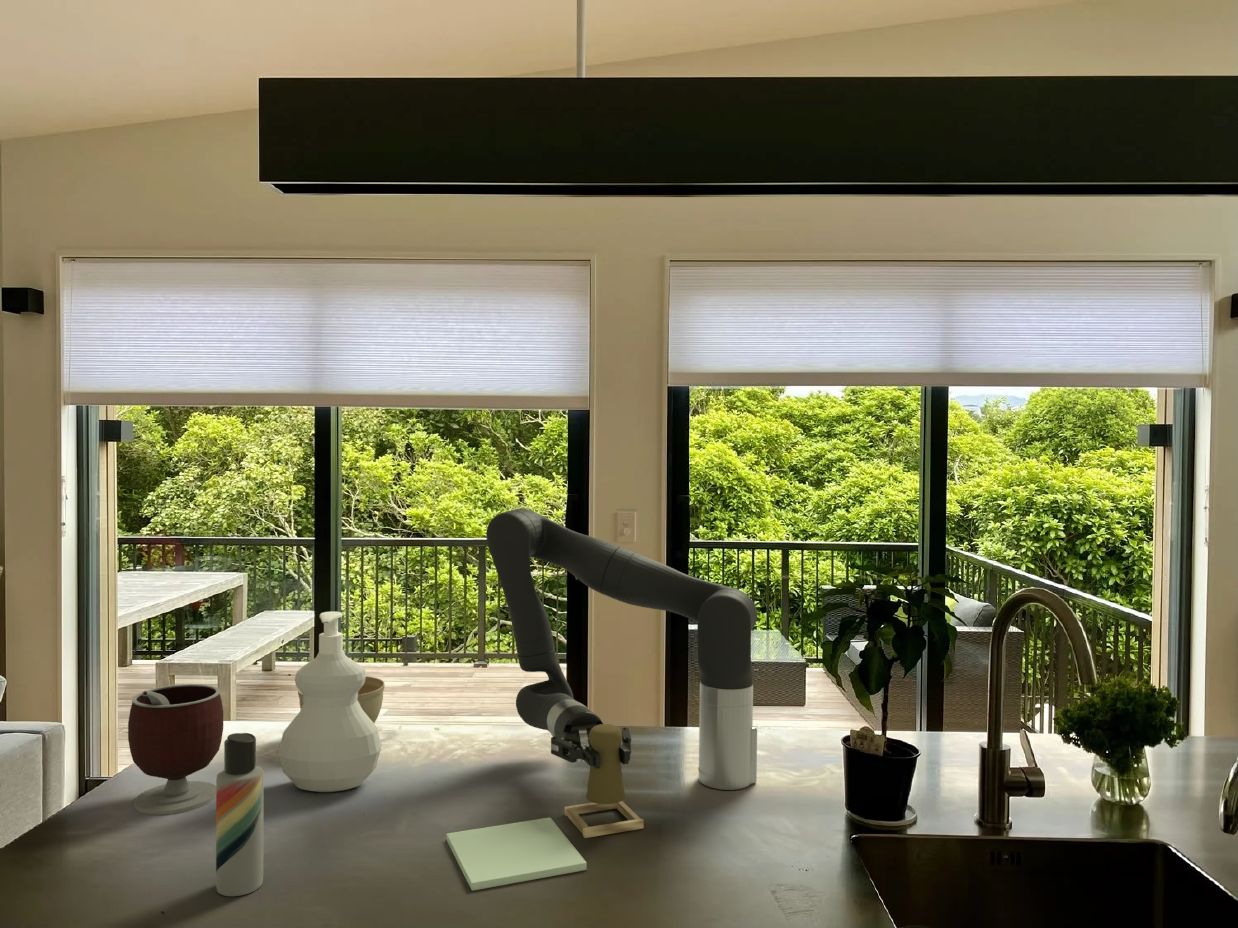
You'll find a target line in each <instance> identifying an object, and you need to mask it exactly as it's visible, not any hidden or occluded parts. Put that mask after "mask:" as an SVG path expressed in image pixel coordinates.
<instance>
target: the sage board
mask: <svg viewBox="0 0 1238 928" xmlns="http://www.w3.org/2000/svg"><path fill="white" fill-rule="evenodd" d="M446 842H447V844H448V847H449V848H450V850H451V853H452V854H453V856H454V858H455V860H456V862H457V864H458V866H459V869H460V870H461V872H462V874H463V875H464V878H465V880H466V882H467V884H468V886H469V888H470V890H471V891H477V890H482V889H484V890H485V889H489V888H490V889H491V888H493V887H494V888H495V887H500V886H506V885H510V884H516V883H522V882H528V881H532V880H537V879H539V880H540V879H543V878H548V877H554V876H561V875H565V874H571V873H577V872H583V871H587V870H588V869H587V868H588V867H587V864H588V862H587V861H586V860H585V858H584V857H583V856H582V855H581V853H579V851H578V849H576V847H574V845H573V844H572V842H570V840H569V838H568V837H567V836H566V835H565V834H564V833H563V831H562V830H561V829H560V828H559V826H558V825H557V824H556V822H555V821H554V820H553V819H552V818H551V817H544V818H537V819H532V820H524V821H519V822H512V823H506V824H505V823H504V824H500V825H499V824H498V825H491V826H486V827H480V828H473V829H467V830H462V831H454V832H449V833H448V832H447V833H446Z"/></svg>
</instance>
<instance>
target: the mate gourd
mask: <svg viewBox="0 0 1238 928" xmlns="http://www.w3.org/2000/svg"><path fill="white" fill-rule="evenodd" d="M131 702H132V703H131V706H130V710H129V716H128V720H127V721H128V723H127V740H128V745H129V751H130V755H131V758H132V761H133V763H134V764H135V766H137V768H138V769H140V771H141V772H142V773H143V774H145V775H147V776H149V777H155V778H161V779H164V780H166V783H165V784H161V785H158V786H155V787H152V788H149V789H147V790H144V791H143V792H141V793H140V794H138V795H137V796H136V797H135V798H134V800H133V807H134V810H136V811H137V812H139V813H141V814H145V815H146V814H147V815H153V816H154V815H157V816H158V815H159V816H160V815H172V814H173V815H174V814H179V813H184V812H189V811H193V810H197V809H200V808H202V807H204V806H207V805H208V804H211V803H212V802H214V801H215V799H216V784H214V783H211V782H207V781H200V780H189V781H188V779H187V777H188V776H190V775H192V774H194V773H198V772H199V771H201V770H203V769H205V768H206V767H208V766H209V765H210V763H211V762H212V761H213V759H214V758H215V756H216V755H217V754H218V752H219V751H220V748H221V743H222V740H223V735H224V734H223V732H224V708H223V701H222V697H221V689H220V688H219V687H217V686H215V685H210V684H199V683H195V684H194V683H187V684H186V683H185V684H172V685H167V686H160V687H156V688H151V689H147V690H144V691H141V692H139V693H137V694H136V695H134V696H133V697H132V698H131Z"/></svg>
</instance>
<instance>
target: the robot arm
mask: <svg viewBox="0 0 1238 928" xmlns="http://www.w3.org/2000/svg"><path fill="white" fill-rule="evenodd" d="M485 534H486V543H487V546H488V550H489V553H490V556H491V558H492V562H493V565H494V567H495V570H496V573H497V576H498V579H499V583H500V586H501V589H502V593H503V595H504V598H505V602H506V604H507V605H506V606H507V609H508V613H509V616H510V622H511V627H512V631H513V638H514V643H515V649H516V654H517V658H518V665H519V667H520V669H521V670H522V671H524V672H527V673H539V672H543V673H545V674H546V675H547V678H548V679H547V680H543V681H540V682H536V683H531V684H528V685H526V686H524V687H522V688H521V689H520V690H519V691H518V693H517V695H516V699H515V707H516V711H517V713H518V715H519V717H520V718H521V719H522V721H523V722H524V724H526V725H528V726H530V727H533V728H534V729H539V730H544V731H547V732H549V733H550V735H551V736H552V737H551V738H550V754H551V755H554V756H556V757H558V758H560V759H563V760H564V761H566V762H569V763H572V764H573V763H577V762H578V760H581V762H582V763H586V764H587V765H588V766H589V767H590V766H593V767H594V768H595V769H597V768H600V754H599V753H598V752H597V751H595V750H594V749H593V748H592V746H591V745H590V742H589V734H590V731H591V729H592V728H593V727H594V726H597V725H600V724H604V722H603V721H602V719H601V718H600V717H599V716H598V715H597V714H596V713H595V712H593V710H591V709H590V708H588V707H587V706H586V705H584V704H583V703H581V702H579V701H577V700H576V699H574V694H573V690H572V688H571V687H570V684H569V682H568V680H567V678H566V676H565V675H564V672H563V670H562V668H561V665H560V663H559V660H558V656H557V654H556V647H555V643H554V636H553V631H552V627H551V626H552V625H551V622H550V619H549V616H548V613H547V611H546V609H545V607H544V604H543V603H542V601H541V599H540V597H539V595H538V592H537V590H536V588H535V583H534V580H533V575H532V572H531V560H530V559H531V558H534V559H537V560H541V561H544V562H547V563H550V564H552V565H555V566H558V567H560V568H562V569H564V570H566V571H567V572H569V573H570V574H571V575H573V577H574V578H576V579H577V580H578V581H580V582H581V583H582V584H584V585H585V586H587V587H588V588H590V589H591V590H593V591H595V592H597V593H599V594H601V595H604V596H606V597H608V598H611V599H613V600H617V601H618V602H621V603H625V604H627V605H631V606H635V607H641V608H646V609H653V610H659V611H665V612H670V613H674V614H677V615H681V616H682V617H685V618H688V619H689V620H692V621H693V622H696V624H697V625H696V626H697V627H696V628H697V629H696V630H697V635H696V636H697V637H696V639H697V642H696V644H697V667H698V670H699V718H698V721H699V723H698V724H699V725H698V726H699V727H698V728H699V731H698V732H699V733H698V767H697V768H698V781H699V782H700V783H701V784H702V785H704V786H706V787H708V788H712V789H717V790H724V791H726V790H727V791H729V790H730V791H731V790H732V791H733V790H735V791H737V790H742V789H745V788H748V787H749V786H750V785H752V784H756V783H757V778H758V777H757V771H758V769H757V768H758V766H757V765H758V729H757V727H756V726H754V725H753V723H754V721H753V716H754V715H753V714H754V713H753V712H754V668H753V665H752V630H753V629H754V628H755V626H756V623H757V620H758V611H757V608H756V604H755V602H754V601H753V600H752V598H751V597H750V596H749V595H748V594H747V593H745V592H744V591H742V590H740V589H738V588H734V587H731V586H727V585H723V584H720V583H719V584H718V583H716V582H711V581H708V580H705V579H700V578H698V577H695V576H691V575H688V574H686V573H683V572H681V571H679V570H677V569H675V568H673V567H671V566H668V565H666V564H665V563H661V562H659V561H658V560H656V559H655V560H654V559H652V558H649V557H647V556H646V555H643V554H641V553H638V552H635V551H633V550H630V549H629V548H625V547H624V546H623V547H622V546H619V545H617V544H614V543H611V542H608V541H605V540H601V539H599V538H596V537H592V536H590V535H588V534H587V535H586V534H583V533H580V532H577V531H574V530H572V529H569V528H568V527H565V526H563V525H561V524H559V523H557V522H556V521H554V520H551V519H549V518H547V517H546V516H544V515H542V514H540V513H538V512H536V511H534V510H531V509H528V508H527V509H526V508H516V509H511V510H508V511H504V512H500V513H498V514H496V515H495V516H494V517H493V518H492V519H491V520H490V521H489V523H488V524H487V527H486V533H485ZM620 730H621V732H622V743H621V745H620V747H619V754H620V762H621V765H629V763H630V761H631V754H632V736H631V732H630V728H628V727H627V726H625V727H624V726H623V727H622V728H620Z"/></svg>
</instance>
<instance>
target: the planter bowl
mask: <svg viewBox="0 0 1238 928" xmlns="http://www.w3.org/2000/svg"><path fill="white" fill-rule="evenodd" d="M384 691H385V681H384V680H383V679H381V678H378V677H374V676H369V675H366V679H365V683H364V685H363V686H362V687H361V689H360V690H359V691H358V698H357V700H358V702H359V704H360V706H361V708H362V710H363V711H364V712H365V713H366V714H367V716H368V717H369V718H370V719H371V721H372V722H373V723H374V724H375V723H376V721H377V720H378V717H379V715H380V712H381V711H382V710H381V709H382V706H383V700H384ZM297 694H298V699H299V708H300V710H301V708H302V706H303V704H304V702H303V694H302V693H301V691H300V690H299V689H298V688H297Z"/></svg>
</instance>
